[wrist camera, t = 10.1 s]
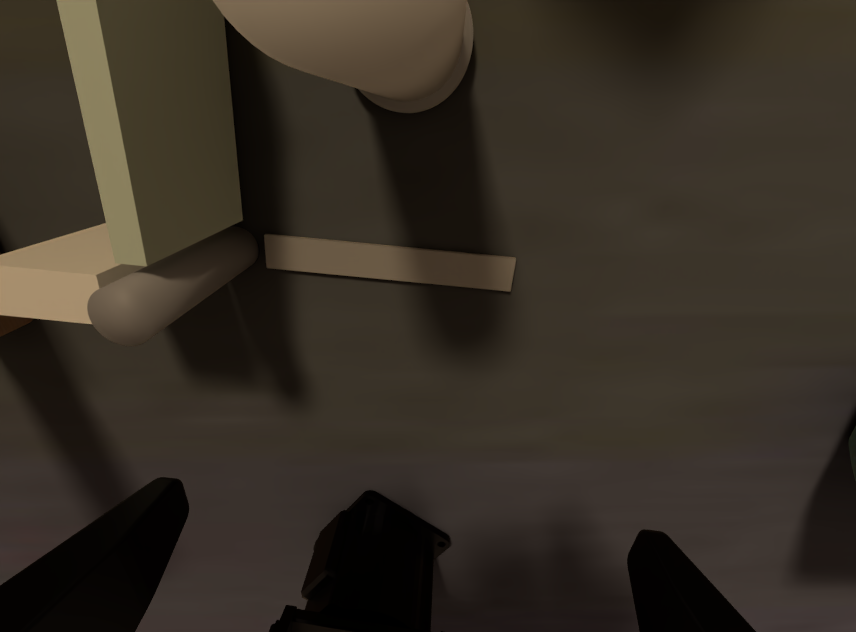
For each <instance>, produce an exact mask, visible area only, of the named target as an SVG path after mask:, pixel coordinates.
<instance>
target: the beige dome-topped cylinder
mask: <svg viewBox="0 0 856 632" xmlns="http://www.w3.org/2000/svg"><path fill="white" fill-rule="evenodd" d="M213 2H214V3H215V4H216V6H217V7H218V9H219V10H220V11H221V13H222V14H223V15H224V17H225V18H226V19H227V20H228V21H229V22H230V23H231V24H232V26H233V27H234V28H235V29H236V30H237V31H238V32H239V33H240V34H241V35H242V36H243V37H245V38H246V39H247V40H248V41H249V42H250V43H251V44H252V45H254V46H255V47H257V48H258V49H259V50H261V51H262V52H264V53H265V54H266V55H268V56H270V57H271V58H273V59H275V60H277V61H279V62H281V63H283V64H284V65H287V66H289V67H292V68H295V69H297V70H300V71H303V72H306V73H309V74H312V75H316V76H319V77H322V78H325V79H328V80H332V81H335V82H338V83H341V84H344V85H348V86H351V87H354V88H357V89H359V90H360V92H361V93H362V94H364V95H365V96H366V97H367V98H368V99H369V100H371V101H372V102H373V103H375V104H377V105H378V106H380V107H382V108H385V109H387V110H390V111H395V112H400V113H417V112H422V111H425V110H428V109H431V108H433V107H435V106H437V105H438V104H440V103H441V102H443V101H444V100H445V99H447V98H448V97H449V96H450V95H451V94H452V93H453V91H454V90H455V89H456V88H457V87H458V85H459V83H460V82H461V80H462V79H463V76H464V74H465V72H466V70H467V67H468V64H469V61H470V57H471V52H472V47H473V22H472V16H471V12H470V8H469V5H468V2H467V0H213Z"/></svg>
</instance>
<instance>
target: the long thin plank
mask: <svg viewBox="0 0 856 632" xmlns="http://www.w3.org/2000/svg"><path fill="white" fill-rule="evenodd" d="M264 240H265V254H266V268H271V269H282V270H292V271H303V272H313V273H323V274H334V275H344V276H354V277H365V278H375V279H385V280H396V281H406V282H416V283H427V284H437V285H447V286H458V287H468V288H479V289H489V290H499V291H510V292H511V286H512V280H513V274H514V269H515V263H516V257H506V256H495V255H485V254H474V253H464V252H454V251H443V250H433V249H422V248H412V247H401V246H391V245H380V244H370V243H359V242H349V241H338V240H328V239H317V238H307V237H296V236H286V235H276V234H265V235H264ZM258 255H259V247H258V243H257V241H256V239H255V238H254V236H253V235H252V234H251V233H250V232H248V231H247V230H245V229H243V228H241V227H236V226H232V227H228V228H226V229H224V230H222V231H220V232H217V233H215V234H213V235H211V236H209V237H207V238H205V239H203V240H201V241H199V242H197V243H195V244H192V245H190V246H188V247H186V248H184V249H182V250H180V251H178V252H176V253H174V254H172V255H170V256H167V257H165V258H163V259H161V260H159V261H157V262H155V263H153V264H151V265H149V266H138V265H128V264H117V263H115V260H114V255H113V251H112V247H111V242H110V238H109V233H108V229H107V224H106V223H105V224H101V225H98V226H95V227H91V228H88V229H85V230H81V231H78V232H75V233H71V234H68V235H65V236H61V237H58V238H55V239H51V240H48V241H45V242H41V243H38V244H35V245H31V246H28V247H25V248H21V249H18V250H14V251H11V252H8V253H4V254H1V255H0V315H5V316H15V317H25V318H35V319H45V320H56V321H66V322H76V323H86V324H93V326H94V327H95V328H96V330H97V331H98V332H99V333H100V334H101V335H102V336H104V337H105V338H106V339H108V340H110V341H112V342H114V343H116V344H119V345H122V346H138V345H141V344H143V343H145V342H146V341H147V340H149V339H150V338H152V337H153V336H154V335H156V334H157V333H159V332H160V331H161V330H163V329H164V328H165V327H167V326H168V325H170V324H171V323H172V322H174V321H175V320H176V319H178V318H179V317H181V316H182V315H183V314H185V313H186V312H188V311H189V310H190V309H192V308H193V307H194V306H196V305H197V304H199V303H200V302H201V301H203V300H204V299H206V298H207V297H208V296H210V295H211V294H212V293H214V292H215V291H217V290H218V289H219V288H221V287H222V286H223V285H225V284H226V283H228V282H229V281H230V280H232V279H233V278H235V277H236V276H237V275H239V274H240V273H241V272H243V271H244V270H246V269H247V268H248V267H250V266H251V265H252V264H254V263H255V262H256V260H257V258H258Z"/></svg>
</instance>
